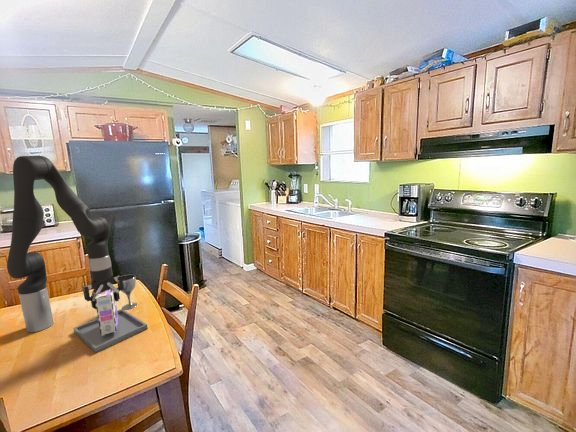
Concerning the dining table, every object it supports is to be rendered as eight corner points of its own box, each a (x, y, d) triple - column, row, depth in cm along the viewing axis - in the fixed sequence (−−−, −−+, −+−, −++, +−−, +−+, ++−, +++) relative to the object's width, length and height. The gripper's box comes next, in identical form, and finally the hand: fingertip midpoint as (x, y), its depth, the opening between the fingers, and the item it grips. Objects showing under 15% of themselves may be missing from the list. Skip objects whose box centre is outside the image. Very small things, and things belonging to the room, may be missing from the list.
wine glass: (131, 310, 141) (127, 281, 138) (117, 309, 143) (112, 280, 140) (142, 302, 149) (138, 274, 146) (128, 301, 150) (124, 273, 147)
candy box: (117, 332, 119) (111, 294, 116) (100, 337, 117) (93, 298, 114) (118, 317, 131) (113, 282, 128) (103, 321, 129) (97, 285, 126)
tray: (74, 332, 124) (73, 328, 124) (122, 312, 139) (122, 309, 139) (95, 353, 109) (94, 348, 109) (147, 328, 125) (147, 324, 124)
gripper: (115, 260, 127) (120, 295, 130) (76, 270, 116) (83, 309, 119) (123, 263, 122) (128, 300, 125) (83, 274, 111) (90, 314, 114)
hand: (106, 304), depth 122 cm, fingers closed on candy box, 7 cm apart
